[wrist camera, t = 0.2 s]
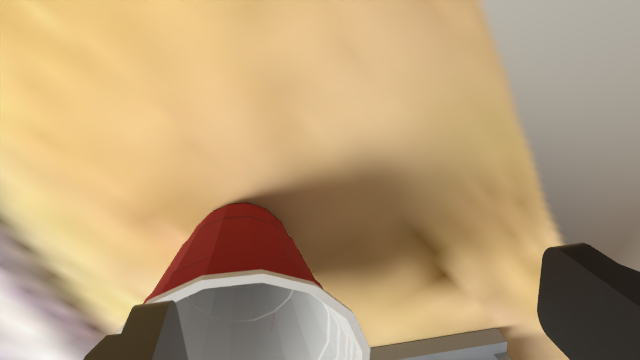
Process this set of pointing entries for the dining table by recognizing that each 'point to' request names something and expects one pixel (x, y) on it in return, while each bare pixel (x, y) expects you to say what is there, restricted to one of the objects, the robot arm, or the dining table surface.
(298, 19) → the dining table surface
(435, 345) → the dish rack
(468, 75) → the dining table surface
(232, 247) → the plastic cup
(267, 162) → the dining table surface
